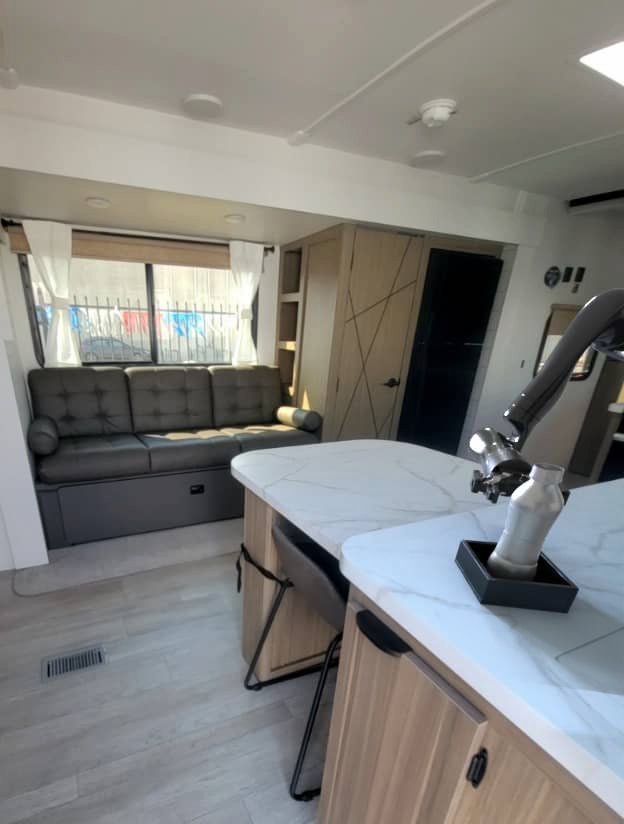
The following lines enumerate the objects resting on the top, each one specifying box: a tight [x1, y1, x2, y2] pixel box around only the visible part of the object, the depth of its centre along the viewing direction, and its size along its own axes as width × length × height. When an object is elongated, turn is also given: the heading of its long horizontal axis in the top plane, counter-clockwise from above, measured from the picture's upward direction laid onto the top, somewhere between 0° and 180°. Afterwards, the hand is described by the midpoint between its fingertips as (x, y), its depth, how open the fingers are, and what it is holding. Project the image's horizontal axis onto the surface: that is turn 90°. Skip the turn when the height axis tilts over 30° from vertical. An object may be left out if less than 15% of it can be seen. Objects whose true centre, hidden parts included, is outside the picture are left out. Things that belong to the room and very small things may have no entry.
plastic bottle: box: [486, 462, 565, 582], centre depth 63 cm, size 6×7×20 cm
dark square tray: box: [454, 539, 580, 614], centre depth 66 cm, size 12×12×4 cm
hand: (525, 502), depth 65 cm, fingers open, 8 cm apart
